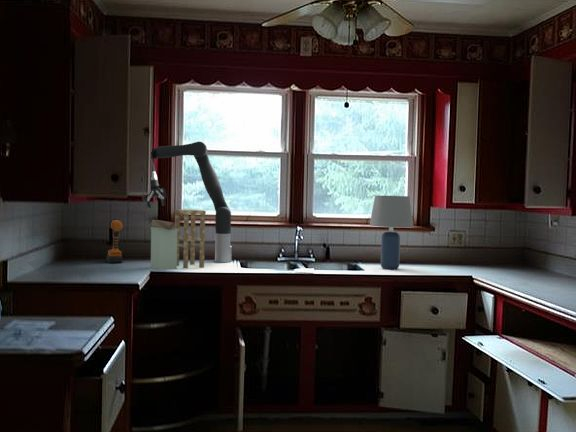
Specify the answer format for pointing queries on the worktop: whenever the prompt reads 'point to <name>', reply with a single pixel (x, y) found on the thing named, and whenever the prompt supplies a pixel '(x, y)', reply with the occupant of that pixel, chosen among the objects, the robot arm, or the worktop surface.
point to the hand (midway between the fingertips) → (156, 206)
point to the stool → (190, 238)
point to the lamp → (391, 225)
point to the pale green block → (163, 248)
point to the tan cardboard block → (163, 224)
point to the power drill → (115, 243)
